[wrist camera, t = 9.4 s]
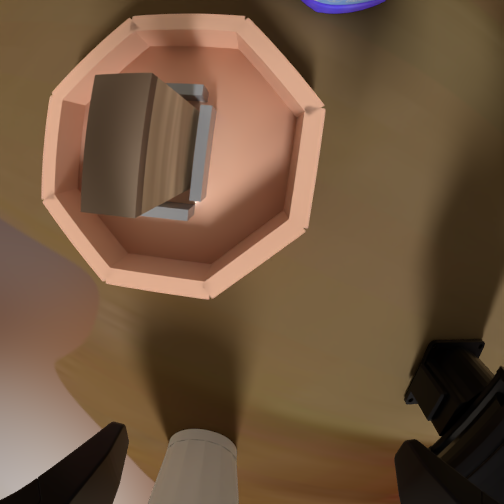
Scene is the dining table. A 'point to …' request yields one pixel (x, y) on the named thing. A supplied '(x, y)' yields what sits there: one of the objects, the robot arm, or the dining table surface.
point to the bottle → (340, 5)
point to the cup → (197, 470)
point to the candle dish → (205, 155)
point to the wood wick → (136, 145)
